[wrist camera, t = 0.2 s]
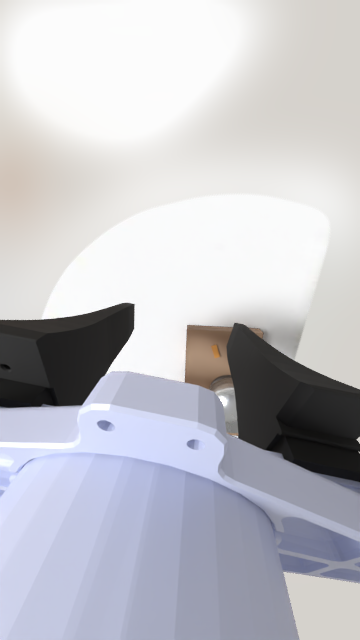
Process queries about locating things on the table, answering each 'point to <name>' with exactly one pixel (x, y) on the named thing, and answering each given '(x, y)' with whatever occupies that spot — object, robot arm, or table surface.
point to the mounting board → (208, 355)
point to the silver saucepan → (227, 402)
